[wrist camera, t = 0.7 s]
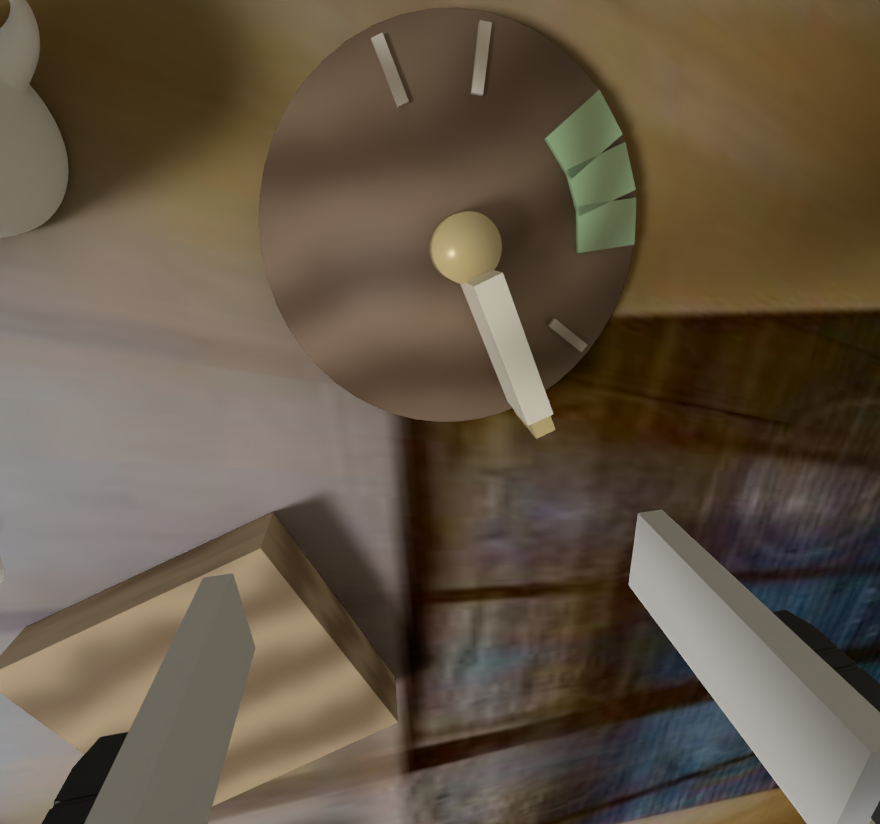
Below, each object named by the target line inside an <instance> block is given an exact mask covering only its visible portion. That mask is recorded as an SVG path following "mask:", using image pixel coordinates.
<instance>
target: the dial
mask: <svg viewBox="0 0 880 824" xmlns="http://www.w3.org/2000/svg"><path fill="white" fill-rule="evenodd" d="M635 190H636V188H635V184H634V179H633V174H632V168H631V163H630V160H629V156H628V151H627V146H626V142H624V139H623V136H622V132H621V130H620V128H619V126H618V124H617V122H616V120H615V117H614V115H613V113H612V111H611V109H610V108H609V106H608V104H607V103H606V101H605V99H604V97H603V95H602V93H601V91H600V90H599V89H598V88H597V87H596V85H595V84H594V83H593V82H592V80H591V79H590V78H589V76H588V75H587V74H586V73H585V71H584V70H583V69H582V68H581V67H580V66H579V65H578V64H577V63H576V62H575V61H574V60H573V59H572V58H571V57H570V56H569V55H568V54H567V53H566V52H565V51H564V50H563V49H561V48H560V47H559V46H557V45H556V44H554V43H553V42H551V41H550V40H549V39H547V38H546V37H544V36H543V35H542V34H540V33H539V32H537V31H535V30H533V29H531V28H529V27H527V26H525V25H523V24H521V23H519V22H517V21H514V20H512V19H509V18H505V17H502V16H499V15H496V14H492V13H489V12H486V11H478V10H470V9H463V8H438V9H425V10H421V11H416V12H411V13H406V14H401V15H398V16H395V17H393V18H390V19H388V20H385V21H383V22H380V23H378V24H375V25H372V26H371V27H369V28H367V29H366V30H364V31H362V32H361V33H359V34H357V35H355V36H354V37H352V38H350V39H349V40H347V41H346V42H344V43H343V44H342V45H341V46H340V47H338V48H337V49H336V50H335V51H334V52H332V53H331V54H330V55H329V56H328V57H326V58H325V59H324V60H323V61H322V62H321V63H320V64H319V65H318V67H317V68H316V69H315V70H314V71H313V72H312V73H311V75H310V76H309V77H308V78H307V79H306V80H305V81H304V82H303V84H302V85H301V87H300V88H299V90H298V91H297V93H296V95H295V96H294V98H293V99H292V101H291V102H290V104H289V105H288V107H287V108H286V110H285V113H284V115H283V117H282V119H281V121H280V123H279V126H278V128H277V130H276V132H275V134H274V136H273V140H272V143H271V146H270V149H269V153H268V156H267V159H266V163H265V166H264V172H263V179H262V185H261V191H260V206H259V230H260V241H261V251H262V256H263V261H264V265H265V270H266V274H267V279H268V282H269V285H270V287H271V290H272V293H273V296H274V298H275V301H276V304H277V306H278V308H279V310H280V312H281V314H282V316H283V318H284V320H285V322H286V324H287V326H288V328H289V329H290V331H291V332H292V334H293V335H294V337H295V338H296V340H297V341H298V343H299V344H300V346H301V347H302V349H303V350H304V351H305V352H306V353H307V355H308V356H309V357H310V358H311V359H312V360H313V361H314V363H315V364H316V365H317V366H318V367H319V368H320V369H321V370H322V371H323V372H324V373H325V374H327V375H328V376H329V377H330V378H331V379H332V380H333V381H334V382H336V383H337V384H338V385H340V386H341V387H342V388H344V389H345V390H347V391H348V392H350V393H351V394H353V395H354V396H356V397H357V398H359V399H361V400H363V401H365V402H367V403H369V404H371V405H373V406H375V407H377V408H380V409H383V410H385V411H388V412H391V413H393V414H396V415H400V416H405V417H409V418H413V419H418V420H428V421H437V422H444V421H464V420H472V419H479V418H483V417H487V416H491V415H494V414H498V413H501V412H504V411H506V410H509V409H511V408H512V407H511V405H510V404H509V403H508V402H507V399H506V397H505V394H504V392H503V389H502V387H501V384H500V382H499V379H498V377H497V374H496V372H495V369H494V367H493V364H492V362H491V359H490V357H489V354H488V352H487V349H486V347H485V344H484V342H483V339H482V337H481V334H480V332H479V329H478V327H477V324H476V322H475V319H474V317H473V314H472V312H471V309H470V307H469V304H468V302H467V299H466V297H465V294H464V292H463V289H462V287H461V284H460V283H456V282H454V281H452V280H450V279H448V278H446V277H445V276H443V275H441V274H440V273H439V272H438V271H437V270H436V269H435V267H434V266H433V264H432V262H431V259H430V256H429V249H428V247H429V239H430V235H431V233H432V231H433V229H434V227H435V226H436V225H437V224H438V223H439V222H440V221H441V220H442V219H444V218H445V217H447V216H449V215H452V214H456V213H460V212H466V211H473V212H478V213H481V214H483V215H485V216H486V217H488V218H489V219H490V220H491V221H492V222H493V223H494V224H495V226H496V227H497V229H498V231H499V234H500V237H501V242H502V252H501V257H500V260H499V263H498V265H497V267H496V268H495V271H499V272H503V274H504V277H505V280H506V283H507V285H508V288H509V291H510V294H511V297H512V299H513V302H514V305H515V308H516V311H517V314H518V316H519V319H520V322H521V325H522V328H523V330H524V333H525V336H526V339H527V342H528V344H529V347H530V350H531V353H532V356H533V358H534V361H535V364H536V367H537V370H538V372H539V375H540V378H541V381H542V384H543V386H544V389H545V390H546V389H548V388H549V387H551V386H552V385H554V384H555V383H556V382H558V381H559V380H560V379H561V378H562V377H563V376H564V375H566V374H567V373H568V372H569V371H570V370H571V369H572V368H573V367H574V366H575V365H576V364H577V363H578V362H579V361H580V360H581V358H582V357H583V356H584V355H585V354H586V353H587V352H588V351H589V349H590V348H591V346H592V345H593V344H594V342H595V341H596V340H597V338H598V337H599V335H600V334H601V332H602V331H603V329H604V327H605V325H606V324H607V322H608V320H609V318H610V317H611V315H612V313H613V311H614V309H615V306H616V304H617V302H618V299H619V297H620V295H621V292H622V290H623V287H624V283H625V280H626V277H627V274H628V270H629V267H630V262H631V256H632V251H633V246H634V244H635V224H636V198H635Z"/></svg>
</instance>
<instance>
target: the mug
mask: <svg viewBox="0 0 880 824" xmlns="http://www.w3.org/2000/svg"><path fill="white" fill-rule="evenodd" d="M9 2H10V13H9V17H8V19H7V21H6V22H5V24H4V25H3V26H2V27H1V28H0V238H3V237H10V236H15V235H19V234H23V233H25V232H28V231H31V230H33V229H35V228H37V227H39V226H41V225H42V224H44V223H45V222H46V221H47V220H49V219H50V218H51V217H52V215H53V214H54V213H55V212H56V211H57V209H58V207H59V206H60V204H61V203H62V200H63V198H64V195H65V193H66V188H67V184H68V173H69V169H68V158H67V153H66V148H65V145H64V141H63V138H62V135H61V133H60V130H59V128H58V126H57V124H56V122H55V120H54V118H53V116H52V115H51V113H50V111H49V110H48V108H47V106H46V105H45V103H44V102H43V101H42V99H41V98H40V96H39V95H38V94H37V93H36V91H35V90H34V89H33V88H32V87H31V86H30V84H29V83H30V81H31V79H32V77H33V74H34V72H35V69H36V67H37V63H38V59H39V53H40V36H39V30H38V25H37V22H36V19H35V16H34V14H33V11H32V9H31V7H30V6H29V4H28V3H27V1H26V0H9Z"/></svg>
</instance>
